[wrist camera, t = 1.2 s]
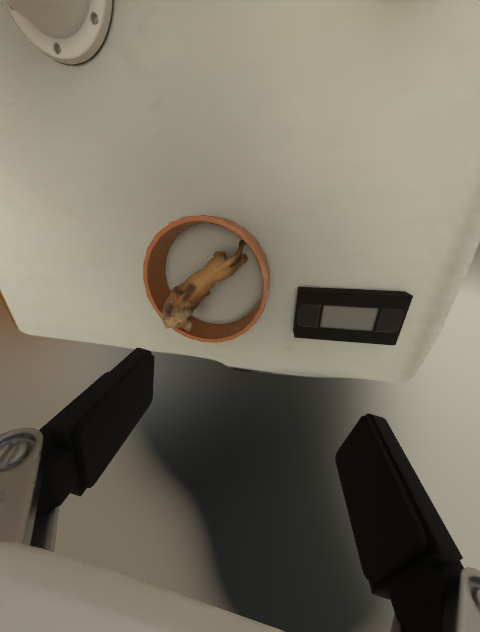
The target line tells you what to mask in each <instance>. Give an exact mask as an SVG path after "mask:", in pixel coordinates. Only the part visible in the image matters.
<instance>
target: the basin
mask: <svg viewBox="0 0 480 632" xmlns="http://www.w3.org/2000/svg"><path fill="white" fill-rule="evenodd" d="M200 222H210V223H214V224H218V225H222V226H223V227H225V228H227V229H229V230H231V231H232V232H234V233H236V234H237V235H238V236H239V237H240V238H241V239H242V240H243V241H244V242H245V243H246V244H247V245H249V246H250V248H251V250H252V251H253V253H254V255H255V256H256V258H257V260H258V262H259V265H260V268H261V272H262V275H263V294H262V298H261V299H260V301H259V303H258V304H257V306H256V308H255V309H254V310H253V311H252V312H251V313H249V314H248V315H247V316H246V317H244V318H242V319H241V320H239V321H237V322H233V323H229V324H225V325H221V324H209V323H206V322H202V321H200V320H198V319H196V318H194V317H192V316H189V317H190V319H191V322H192V326H191V329H190V330H188V331H186V330H185V329H183V328H182V327H180V328H177V327H175V328H174V327H173V329H174V330H175V331H176V332H178V333H180V334H182V335H184V336H186V337H188V338H191V339H194V340H198V341H202V342H222V341H227V340H232V339H234V338H236V337H238V336H240V335H242V334H244V333H245V332H247V331H248V330H249V329H250V328H251V327H252V326H253V325H254V324H255V323H256V322H257V320H258V319H259V317H260V315H261V314H262V312H263V311H264V307H265V304H266V300H267V297H268V291H269V267H268V263H267V259H266V256H265V253H264V251H263V250H262V248H261V246H260V245H259V243H258V241H257V240H256V239H255V238H254V237H253V236H252V235H251V234H250V233H249V232H248V231H247V230H246V229H245V228H243V227H242V226H240V225H238V224H236V223H235V222H233V221H231V220H227V219H223V218H219V217H213V216H204V215H202V216H188V217H183V218H181V219H178V220H176V221H173V222H171V223H169V224H168V225H167V226H165V227H164V228H163V229H162V230H161V231H159V232H158V233H157V234H156V236H155V237H154V239H153V240H152V242H151V244H150V245H149V247H148V249H147V253H146V256H145V260H144V266H143V279H144V284H145V288H146V292H147V296H148V298H149V300H150V302H151V304H152V306H153V308H154V310H155V311H156V312H157V313H158V315H159V316H160V317H161V318H162V316H161V313H162V309H163V307H164V302H165V301H166V300H167V298H168V297H169V295H170V290H169V288H168V286H167V282H166V277H165V259H166V256H167V253H168V249H169V247H170V245H171V244H172V242H173V241H174V239H175V238H176V236H177V235H178V234H180V233H181V232H182V231H183V230H185V229H186V228H187V227H190V226H192V225H195V224H197V223H200ZM171 328H172V327H171Z"/></svg>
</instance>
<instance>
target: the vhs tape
mask: <svg viewBox="0 0 480 632" xmlns="http://www.w3.org/2000/svg"><path fill="white" fill-rule="evenodd" d="M412 298H413V296H412V295H410V294H408V293H407V292H401V291H379V290H357V289H334V288H312V287H298V295H297V302H296V311H295V319H294V328H293V332H294V337H295V338H308V339H320V340H333V341H345V342H358V343H371V344H383V345H396V342H397V339H398V336H399V334H400V331H401V328H402V325H403V323H404V320H405V317H406V314H407V311H408V309H409V306H410V303H411V300H412Z"/></svg>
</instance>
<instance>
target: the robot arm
mask: <svg viewBox="0 0 480 632" xmlns="http://www.w3.org/2000/svg"><path fill="white" fill-rule="evenodd" d="M4 1H5V3H6V5H7V7H8V9H9V11H10V13H11V15H12V17H13V19H14V20H15V22H16V23H17V25H18V26H19V28H20V29H21V31H22V32H23V33H24V35H25V36H26V37H27V38H28V39H29V40H30V41H31V42H32V44H34V45H35V46H36V47H37V48H38V49H40V50H41V51H42V52H44V53H45V54H46V55H48V56H49V57H51V58H52V59H54V60H56V61H59V62H61V63H64V64H72V65H73V64H79V63H82V62H84V61H86V60H88V59H90V58H91V57H92V56H93V55H94V54H95V53H96V52H97V51H98V49H99V48H100V46H101V44H102V43H103V41H104V39H105V36H106V33H107V31H108V27H109V23H110V18H111V11H112V0H4ZM153 378H154V356H153V355H152V353H151V351H148V350H145V349H141V348H136V349H135V350H134V351H133V352H132V353H130V354H129V355H128V356H127V357H126V358H125V359H124V360H123V361H121V362H120V363H119V364H118V365H117V366H116V367H115V368H113V369H112V370H111V371H110V372H107V373H105V374H103V375H102V376H101V377H100V378H99V379H98V380H96V381H95V382H94V383H93V384H92V385H91V386H90V387H88V388H87V389H86V390H85V391H84V392H83V393H81V394H80V395H79V396H78V397H77V398H76V399H74V400H73V401H72V402H71V403H70V404H69V405H68V406H66V407H65V408H64V409H63V410H62V411H61V412H59V413H58V414H57V415H56V416H55V417H54V418H53V419H51V420H50V421H49V422H48V423H47V424H46V425H45V426H43V427H42V428H41V429H40V430H37V429H35V428H20V429H15V430H12V431H9V432H6V433H3V434H1V435H0V632H285V631H282V630H279V629H276V628H273V627H271V626H268V625H265V624H262V623H259V622H256V621H254V620H251V619H248V618H245V617H242V616H239V615H237V614H234V613H231V612H228V611H225V610H222V609H219V608H216V607H214V606H211V605H208V604H205V603H202V602H199V601H197V600H194V599H191V598H188V597H185V596H182V595H180V594H177V593H174V592H171V591H168V590H165V589H162V588H159V587H156V586H154V585H150V584H148V583H145V582H142V581H139V580H136V579H133V578H130V577H127V576H125V575H121V574H119V573H115V572H113V571H110V570H107V569H104V568H101V567H98V566H95V565H92V564H89V563H86V562H83V561H80V560H76V559H73V558H70V557H67V556H64V555H60V554H58V553H54V546H55V538H56V529H57V521H58V512H59V506H60V505H61V504H62V503H63V501H64V500H65V499H66V498H67V496H68V495H69V494H70V493H71V494H74V495H77V496H81V495H82V494H83V493H84V491H85V490H86V488H91V487H92V486H93V485H94V484H95V483H96V482H97V480H98V478H99V477H100V476H101V474H102V473H103V471H104V470H105V469H106V467H107V466H108V464H109V463H110V461H111V460H112V459H113V457H114V456H115V454H116V453H117V452H118V450H119V449H120V447H121V446H122V444H123V443H124V441H125V440H126V438H127V437H128V436H129V434H130V433H131V431H132V430H133V428H134V427H135V426H136V424H137V423H138V421H139V420H140V419H141V417H142V416H143V414H144V413H145V411H146V410H147V409H148V407H149V406H150V404H151V402H152V398H153ZM335 460H336V465H337V469H338V473H339V477H340V481H341V485H342V489H343V493H344V497H345V501H346V505H347V509H348V513H349V518H350V521H351V526H352V529H353V534H354V537H355V542H356V546H357V550H358V554H359V558H360V562H361V566H362V570H363V573H364V575H365V577H366V578H367V579H368V580H369V583H370V586H371V591H372V594H374V595H377V596H380V597H383V598H386V599H391V602H392V605H393V609H394V612H395V615H394V618H393V623H392V627H391V631H390V632H480V571H479V570H477V569H475V568H470V567H467V568H465V569H464V567H463V566H462V564H461V562H460V560H461V559H462V558H463V557H462V556H461V554H460V552H459V550H458V548H457V546H456V545H455V543H454V541H453V539H452V538H451V536H450V534H449V532H448V530H447V529H446V527H445V525H444V523H443V521H442V520H441V518H440V516H439V514H438V513H437V511H436V509H435V507H434V505H433V503H432V502H431V500H430V498H429V496H428V494H427V493H426V491H425V489H424V487H423V486H422V484H421V482H420V480H419V479H418V476H417V475H416V473H415V471H414V469H413V468H412V466H411V464H410V462H409V460H408V459H407V457H406V455H405V454H404V452H403V450H402V448H401V446H400V444H399V442H398V441H397V439H396V437H395V436H394V433H393V432H392V430H391V428H390V426H389V424H388V423H387V421H386V420H385V419H384V418H383V417H379V416H375V415H372V414H366V415H365V416H362V417H361V418H360V419H359V421H358V422H357V424H356V425H355V427H354V428H353V430H352V431H351V432H350V434H349V435H348V437H347V438H346V440H345V441H344V443H343V444H342V445H341V447H340V448H339V450H338V451H337V453H336V459H335Z"/></svg>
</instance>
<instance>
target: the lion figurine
mask: <svg viewBox="0 0 480 632" xmlns="http://www.w3.org/2000/svg"><path fill="white" fill-rule="evenodd" d="M244 243H245V242H244V241H243V240H242V239H241V241H240V242H239V249H238V252H237V253H236V254H235V255H234V256H233V257H231V258H229V259H226V258H225V257H224V256H225V252H220V251H217V252H215V253H214V255H213V256H214V257H213V258H212V259H210V260H209V262H208V263H207V265H206V266H205V267H204V268H203V269H202V270H200V271H198V272H196V273H195V274H193V275H192V276H190V277H189V278H188V279H187V280H186V282H184V283H182V284H181V285H180V286H176V287H174V289H173V290H172V291H170V295H169V297H168V298H167V300H166V301H165V302H164V307H163V309H162V313H161V316H162V320H163V323H164V324H165V328H170V327H172V328H173V327H174V328H175V327H177V328H180V327H182V328H183V329H185V330H186V331H188V330H190V329H191V326H192V322H191V319H190V317H189V316H190V315H191V314H192V313H193V310H194V309H195V308H196V307H197V306H198V303H199V302H200V301H201V300H202V299H203V298H204V297H205V296H208V295H209V294H210V289H211V288H212V287H213V285H214V284H215V283H216V282H217V281H221V280H224V279H226V278H228V277H229V276H231V275H233V274H234V273H235V272H236V271H237V269H238V268H239V267H240V266H241V265H242V264H244V263H246V262H247V260H248V258H247V256H246V255H242V256H241V257H240V258H239V261H238V262H237V263H236V264H233V265H232V263H233V262H234V261H236V260H237V259H238V257H239V256H240V255H241V252H242V248H243V245H244Z"/></svg>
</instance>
